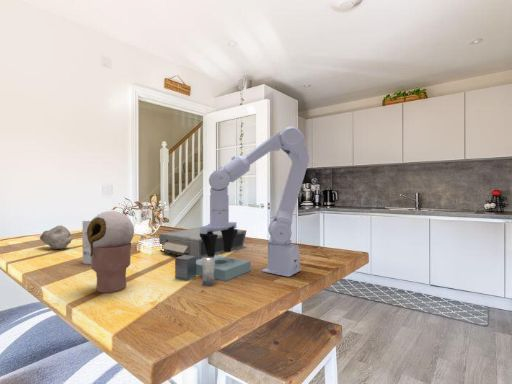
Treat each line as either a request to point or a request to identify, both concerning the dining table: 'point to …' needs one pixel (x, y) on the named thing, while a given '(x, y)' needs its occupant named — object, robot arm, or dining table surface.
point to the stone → (57, 237)
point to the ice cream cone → (110, 249)
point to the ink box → (86, 244)
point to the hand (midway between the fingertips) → (219, 254)
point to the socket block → (226, 267)
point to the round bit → (208, 270)
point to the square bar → (185, 267)
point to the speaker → (196, 242)
